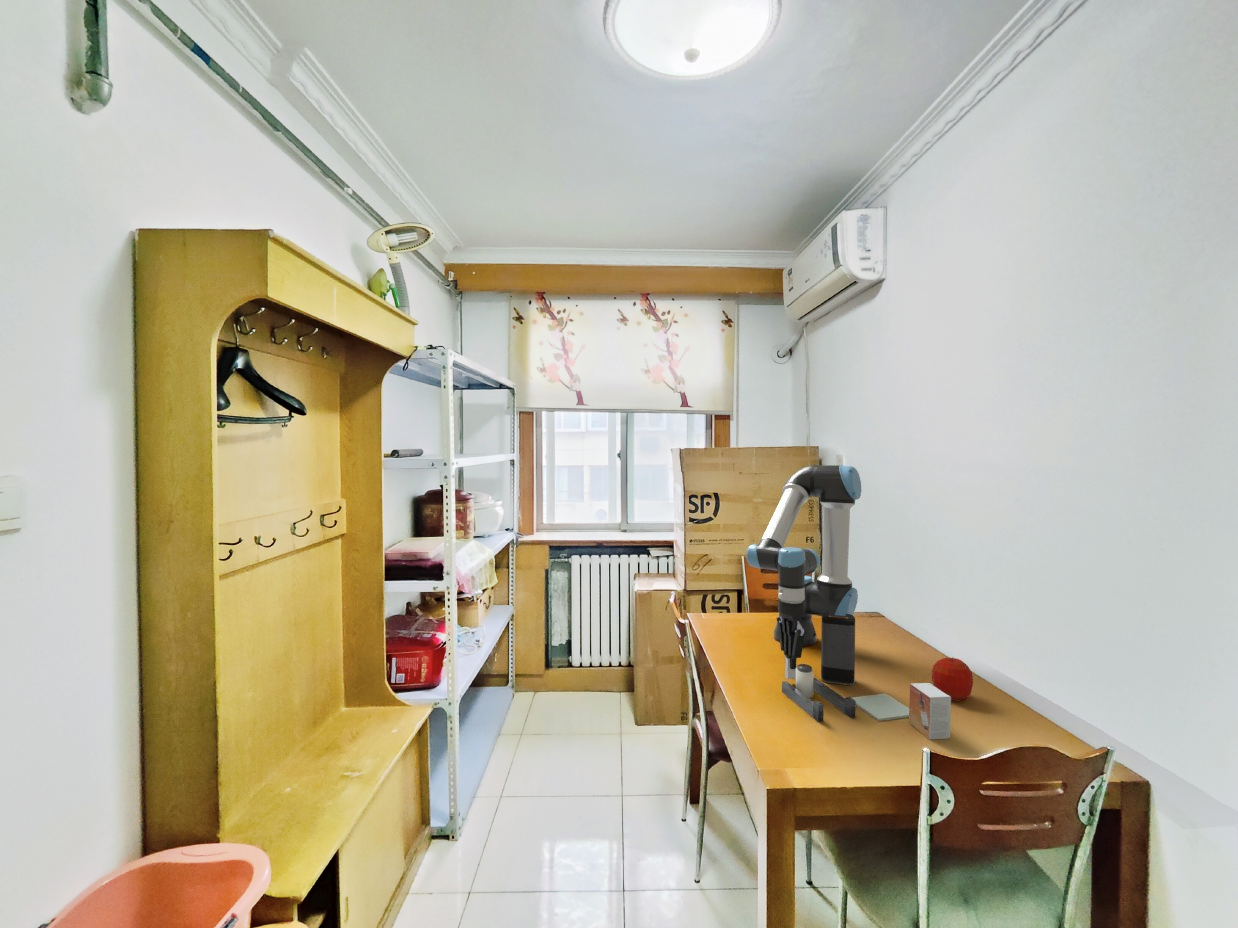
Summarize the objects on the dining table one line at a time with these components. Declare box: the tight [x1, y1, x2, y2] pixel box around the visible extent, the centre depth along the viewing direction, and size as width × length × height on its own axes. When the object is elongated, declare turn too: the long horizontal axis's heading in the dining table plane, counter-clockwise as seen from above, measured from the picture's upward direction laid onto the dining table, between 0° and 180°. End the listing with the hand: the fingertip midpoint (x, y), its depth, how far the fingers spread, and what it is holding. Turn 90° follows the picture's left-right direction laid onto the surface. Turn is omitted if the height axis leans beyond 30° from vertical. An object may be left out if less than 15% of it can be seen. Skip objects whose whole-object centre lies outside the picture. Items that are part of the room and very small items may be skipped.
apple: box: [931, 657, 974, 702], centre depth 152 cm, size 10×10×12 cm
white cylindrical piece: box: [795, 663, 814, 699], centre depth 154 cm, size 5×5×8 cm
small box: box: [908, 682, 952, 740], centre depth 134 cm, size 8×6×10 cm
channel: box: [781, 677, 857, 723], centre depth 148 cm, size 18×11×4 cm, turn 13°
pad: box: [851, 693, 909, 722], centre depth 146 cm, size 12×12×1 cm
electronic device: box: [820, 612, 856, 686], centre depth 163 cm, size 9×6×20 cm, turn 71°
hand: (790, 677), depth 161 cm, fingers closed
